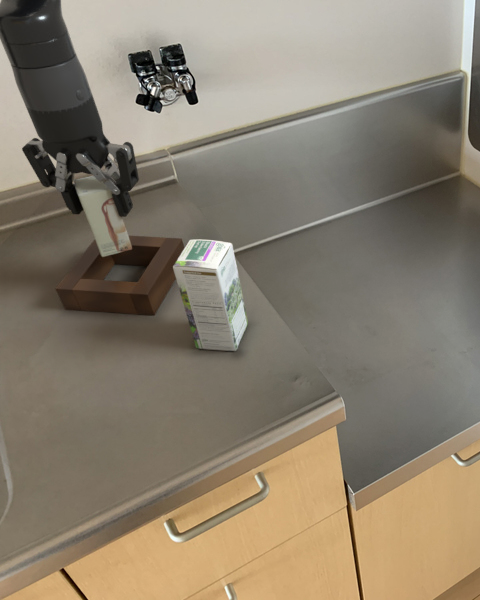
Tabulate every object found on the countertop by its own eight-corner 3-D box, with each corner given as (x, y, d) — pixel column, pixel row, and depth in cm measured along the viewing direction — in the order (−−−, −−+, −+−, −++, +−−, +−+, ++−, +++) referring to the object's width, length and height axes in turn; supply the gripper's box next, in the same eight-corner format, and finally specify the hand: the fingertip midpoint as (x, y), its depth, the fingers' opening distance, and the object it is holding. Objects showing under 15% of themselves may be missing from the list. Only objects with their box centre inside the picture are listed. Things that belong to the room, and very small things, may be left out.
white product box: (133, 250, 88) (112, 189, 81) (101, 258, 86) (77, 197, 80) (127, 231, 91) (106, 171, 85) (96, 239, 90) (72, 179, 83)
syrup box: (210, 320, 87) (186, 237, 77) (250, 323, 87) (231, 240, 77) (195, 349, 83) (169, 265, 73) (238, 352, 82) (217, 268, 73)
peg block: (65, 309, 89) (54, 288, 86) (107, 253, 99) (99, 233, 96) (154, 315, 88) (147, 294, 85) (187, 258, 98) (182, 238, 95)
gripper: (128, 85, 76) (162, 200, 87) (18, 81, 77) (66, 195, 88) (100, 111, 71) (141, 230, 82) (-18, 106, 72) (38, 225, 83)
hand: (102, 212), depth 85 cm, fingers closed on white product box, 6 cm apart
